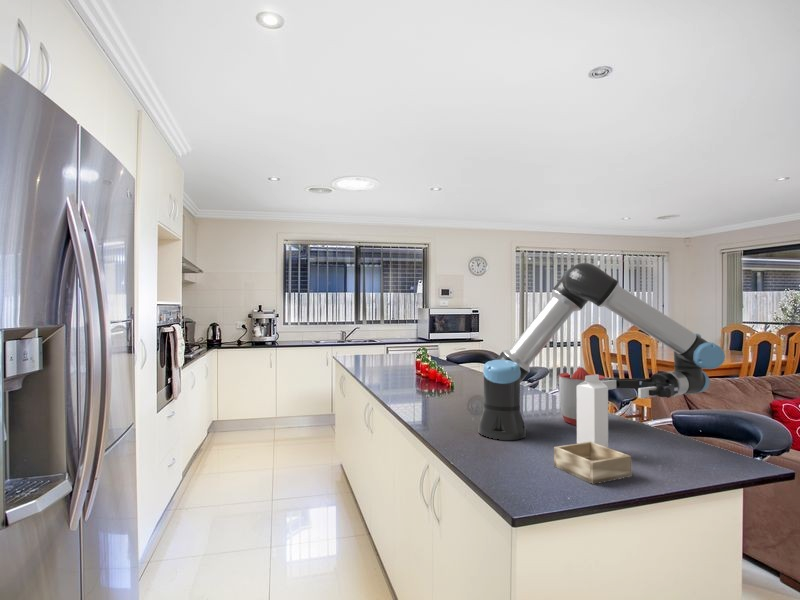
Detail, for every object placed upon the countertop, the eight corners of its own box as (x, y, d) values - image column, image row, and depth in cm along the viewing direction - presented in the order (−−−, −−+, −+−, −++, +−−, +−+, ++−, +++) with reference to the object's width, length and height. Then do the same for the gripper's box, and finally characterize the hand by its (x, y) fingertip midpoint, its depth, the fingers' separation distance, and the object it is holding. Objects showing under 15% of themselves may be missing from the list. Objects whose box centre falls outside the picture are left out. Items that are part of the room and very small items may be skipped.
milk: (608, 453, 123) (608, 375, 123) (594, 457, 120) (594, 377, 120) (589, 447, 128) (590, 372, 129) (576, 450, 125) (576, 374, 126)
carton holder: (554, 466, 113) (554, 447, 113) (590, 460, 117) (590, 441, 118) (592, 484, 101) (592, 462, 101) (631, 476, 106) (631, 456, 106)
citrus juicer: (594, 416, 166) (594, 364, 166) (612, 429, 148) (612, 370, 149) (552, 415, 167) (552, 363, 168) (565, 427, 150) (565, 369, 150)
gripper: (709, 403, 125) (658, 411, 116) (633, 389, 148) (585, 394, 139) (708, 377, 125) (658, 382, 117) (632, 367, 148) (585, 371, 140)
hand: (618, 389), depth 128 cm, fingers open, 13 cm apart
